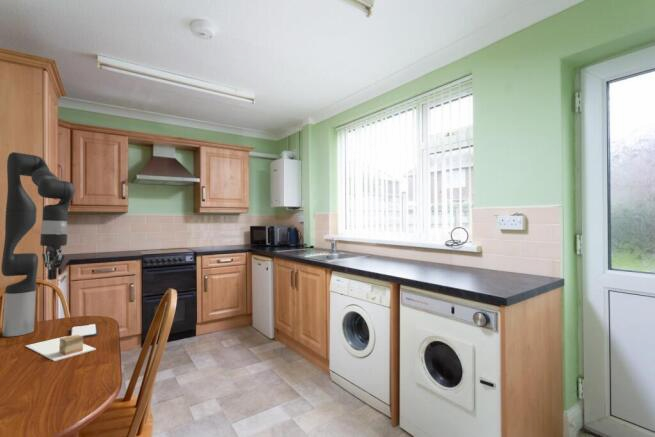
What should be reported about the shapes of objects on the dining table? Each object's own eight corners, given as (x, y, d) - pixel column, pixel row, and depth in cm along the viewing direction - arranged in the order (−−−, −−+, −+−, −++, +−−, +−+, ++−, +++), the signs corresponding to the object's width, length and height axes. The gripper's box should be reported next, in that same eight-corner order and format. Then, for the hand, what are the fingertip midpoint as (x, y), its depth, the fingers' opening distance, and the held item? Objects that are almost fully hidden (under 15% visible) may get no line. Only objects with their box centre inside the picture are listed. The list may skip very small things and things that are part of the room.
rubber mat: (25, 346, 115) (25, 345, 115) (65, 337, 126) (65, 336, 126) (54, 361, 103) (54, 360, 103) (95, 349, 113) (95, 348, 113)
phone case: (97, 337, 128) (96, 327, 141) (97, 333, 128) (96, 323, 141) (69, 342, 123) (71, 330, 135) (69, 337, 123) (71, 326, 135)
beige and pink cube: (66, 340, 107) (65, 355, 107) (83, 336, 111) (82, 350, 111) (59, 338, 109) (59, 352, 109) (76, 334, 114) (76, 348, 113)
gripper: (34, 232, 117) (31, 279, 116) (48, 233, 110) (46, 282, 109) (59, 232, 123) (56, 276, 122) (74, 233, 117) (72, 279, 116)
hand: (51, 279), depth 116 cm, fingers closed
